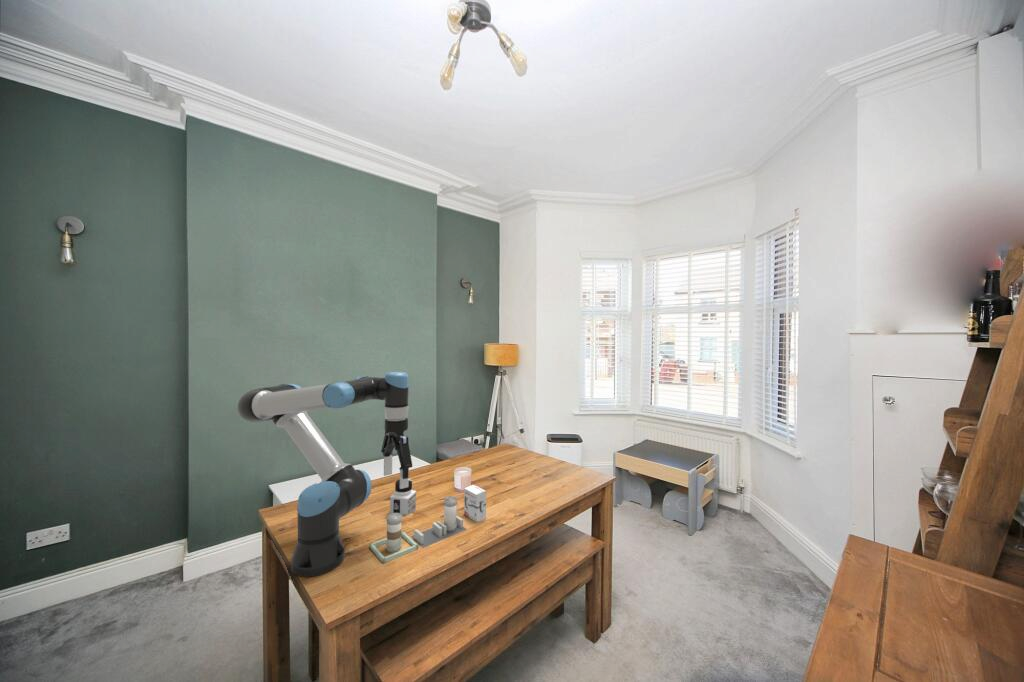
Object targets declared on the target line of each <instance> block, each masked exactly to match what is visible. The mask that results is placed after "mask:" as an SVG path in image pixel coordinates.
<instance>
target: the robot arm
mask: <svg viewBox="0 0 1024 682" xmlns="http://www.w3.org/2000/svg"><path fill="white" fill-rule="evenodd" d="M409 387H410V384H409V374H408V373H407V372H403V371H391V372H387V373H386V374H385V376H384V377H377V376H369V375H365V376H357V377H355V378H354V379H353V380H352V379H351V380H347V381H338V382H333V383H328V384H327V383H326V384H320V385H313V386H306V387H302V386H300V385H298V384H295V383H283V384H278V385H274V386H266V387H260V388H254V389H250V390H249V391H247V392H245V393H244V394H243V395H242V396H241V397H240V398H239V400H238V402H237V407H236V409H237V412H238V415H239V416H240V418H242V419H243V420H244V421H247V422H250V423H262V422H267V421H270V420H271V421H272V422H273V423H274V425H275V426H276V427H277V428H282V429H284V430H285V432H286V433H287V435H289V437H290V438H291V440H292V441H293V443H294V444H295V445H296V446H297V448H298V449H299V451H300V452H301V453H302V455H303V457H304V458H305V459H306V461H308V463H309V464H310V466H311V467H312V469H313V470H314V471H315V472H316V474H317V475H318V476H319V478H320V479H321V481H320V482H318V483H317V482H316V483H313V484H311V485H309V486H308V487H306V488H305V489H303V490H302V491H301V492H300V494H299V496H298V501H297V506H296V507H297V508H296V511H297V542H296V546H295V548H294V551H293V554H292V557H291V560H290V571H291V573H292V574H294V576H299V577H305V578H306V577H315V576H319V575H323V574H326V573H328V572H330V571H332V570H335V568H337V567H339V566H340V565H341V564H342V563H343V561H344V559H345V557H346V556H345V554H346V552H345V546H344V543H343V540H342V538H341V535H340V519H341V518H343V517H344V516H346V515H348V514H350V513H351V512H352V511H353V510H354V509H356V508H358V507H360V506H361V505H362V504H363V503H365V502H366V501H367V500H368V498H369V497H370V495H371V494H372V493H371V492H372V487H373V486H372V481H371V480H372V479H371V477H370V476H369V474H368V473H367V472H366V471H365V470H363V469H362V470H361V469H355V468H354V466H353V465H352V464H351V463H347V462H346V463H345V462H344V461H343V459H342V458H341V457H340V456H339V454H338V453H337V451H336V450H335V449H334V447H333V446H332V444H331V443H330V442H329V441H328V440H327V438H326V437H325V436H324V434H323V433H322V431H321V430H320V429H319V427H318V426H317V425H316V424H315V422H314V421H313V419H312V418H311V417H310V415H309V414H308V412H310V411H317V410H318V411H319V410H325V409H330V408H331V409H342V408H346V407H347V406H348V407H349V406H351V405H354V404H359V403H363V402H366V401H370V400H378V401H380V400H381V401H384V418H385V419H384V437H383V441H382V445H381V451H380V452H381V454H382V456H383V476H384V477H385V476H391V475H393V455H394V453H393V450H395V451H396V453H397V457H398V461H399V464H400V467H399V468H398V469H399V480H400V489H403V488H407V487H409V479H410V478H409V477H410V476H409V474H410V472H409V471H410V469H411V468H413V460H412V456H411V450H410V445H409V436H408V435H407V436H404V432H405V431H407V430H408V429H409V419H408V418H409V410H410V407H409Z"/></svg>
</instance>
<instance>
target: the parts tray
mask: <svg viewBox="0 0 1024 682" xmlns="http://www.w3.org/2000/svg"><path fill="white" fill-rule="evenodd" d="M401 538H403V539H404V540H405V541H406V542H407V543H408V544H410V547H409V546H408V547H407V548H404V549H402V550H401V549H400V550H399V551H397V552H393V553H392V554H390V555H387V556H384V554H382V553H381V551H380V550H379V549H378V548H377V547H378V546H383V545H384V544H385V545H386V544H387V537H385V538H382V539H379V540H377V541H374V542H372V543H369V549H370V550H371V551H372V552H373V553H374V554H375V555H376V557H377V558H378V559H379V560H380V562H381V563H382V564H386V563H387V562H390V561H392V560H395V559H397V558H400V557H402V556H405V555H406V554H410V553H411V552H415V551H416V550H419V544H418V543H417V542H416V541H415V540H414V539H413V538H412V537H411V536H409V535H408V534H407V533H406V532H405V531H401Z"/></svg>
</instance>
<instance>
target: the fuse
mask: <svg viewBox="0 0 1024 682" xmlns="http://www.w3.org/2000/svg"><path fill="white" fill-rule="evenodd" d="M457 504H458V497H456V496H454V495H451V496H446V497H444V498H443V524H444V525H446V526H447V531H446V532H453V531H455V530H456V529H457V523H456V515H457V510H458V508H457V507H458V505H457ZM457 516H458V515H457Z"/></svg>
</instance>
